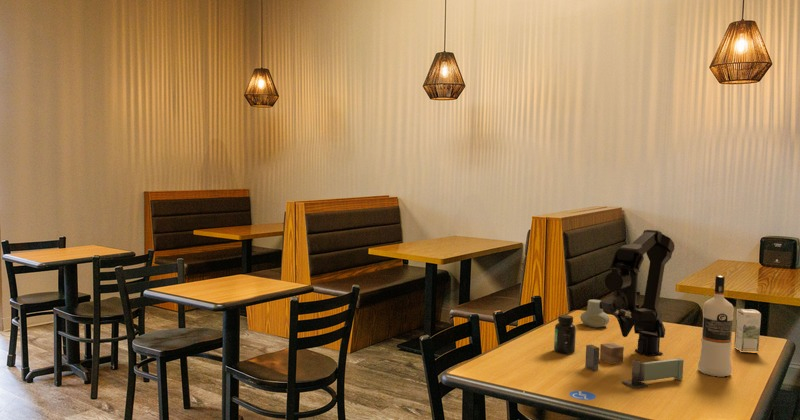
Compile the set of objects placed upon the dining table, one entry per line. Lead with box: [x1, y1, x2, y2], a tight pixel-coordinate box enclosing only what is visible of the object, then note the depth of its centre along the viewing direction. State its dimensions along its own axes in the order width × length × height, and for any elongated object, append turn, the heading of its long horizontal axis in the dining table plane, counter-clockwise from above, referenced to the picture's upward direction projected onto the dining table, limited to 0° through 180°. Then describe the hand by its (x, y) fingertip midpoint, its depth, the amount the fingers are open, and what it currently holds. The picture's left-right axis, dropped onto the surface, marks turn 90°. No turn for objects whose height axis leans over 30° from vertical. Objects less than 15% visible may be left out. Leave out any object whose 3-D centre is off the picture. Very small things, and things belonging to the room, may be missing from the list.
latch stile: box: [584, 344, 600, 372], centre depth 193 cm, size 2×4×7 cm
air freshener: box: [579, 299, 610, 329], centre depth 248 cm, size 11×8×10 cm
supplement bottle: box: [553, 314, 577, 355], centre depth 211 cm, size 7×7×12 cm
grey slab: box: [639, 357, 684, 383], centre depth 183 cm, size 15×2×6 cm, turn 112°
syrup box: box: [733, 308, 762, 352], centre depth 217 cm, size 6×6×14 cm
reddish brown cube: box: [599, 342, 624, 364], centre depth 202 cm, size 5×5×5 cm
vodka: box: [697, 275, 735, 378], centre depth 191 cm, size 9×9×30 cm
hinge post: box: [621, 359, 649, 390], centre depth 179 cm, size 5×5×7 cm
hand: (624, 336), depth 197 cm, fingers closed
